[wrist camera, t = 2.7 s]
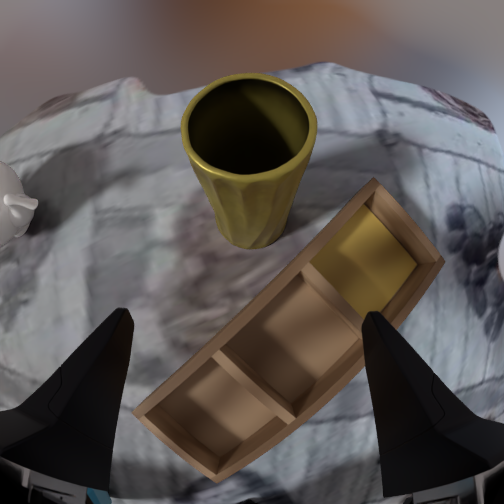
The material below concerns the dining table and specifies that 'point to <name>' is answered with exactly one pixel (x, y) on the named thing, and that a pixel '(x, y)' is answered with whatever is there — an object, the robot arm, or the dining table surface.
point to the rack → (294, 338)
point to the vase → (249, 152)
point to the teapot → (13, 205)
